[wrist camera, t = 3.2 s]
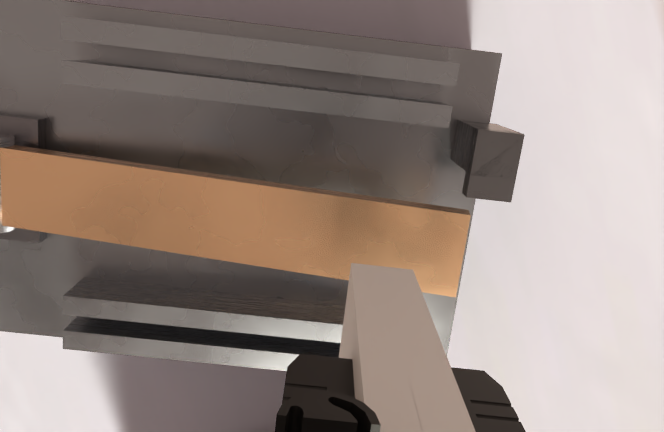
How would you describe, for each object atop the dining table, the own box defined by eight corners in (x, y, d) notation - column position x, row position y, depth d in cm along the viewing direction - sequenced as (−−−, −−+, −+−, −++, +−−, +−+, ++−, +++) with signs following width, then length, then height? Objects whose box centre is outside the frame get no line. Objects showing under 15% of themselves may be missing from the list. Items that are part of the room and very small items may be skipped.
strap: (-15, 218, 24) (-49, 230, 22) (-18, 129, 23) (-54, 134, 21) (452, 292, 22) (455, 311, 20) (469, 198, 21) (473, 210, 19)
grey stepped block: (34, 285, 30) (-73, 368, 22) (30, 1, 27) (-101, -25, 19) (430, 327, 31) (467, 421, 23) (477, 55, 27) (540, 53, 19)
